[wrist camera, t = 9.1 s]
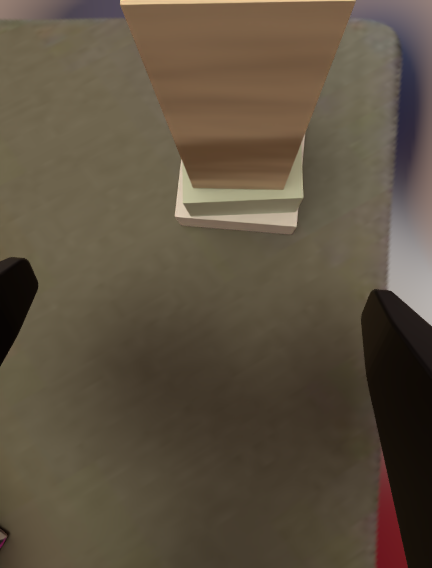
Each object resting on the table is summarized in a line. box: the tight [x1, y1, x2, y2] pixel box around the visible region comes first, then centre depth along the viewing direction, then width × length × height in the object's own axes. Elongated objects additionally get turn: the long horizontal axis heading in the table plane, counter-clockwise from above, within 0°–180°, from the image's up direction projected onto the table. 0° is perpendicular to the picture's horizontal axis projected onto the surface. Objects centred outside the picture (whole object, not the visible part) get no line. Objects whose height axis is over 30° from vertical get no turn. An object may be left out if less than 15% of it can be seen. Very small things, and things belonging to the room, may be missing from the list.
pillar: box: [120, 0, 356, 190], centre depth 12 cm, size 4×4×10 cm
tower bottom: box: [175, 135, 305, 235], centre depth 21 cm, size 7×7×2 cm
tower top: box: [182, 145, 303, 217], centre depth 18 cm, size 6×6×2 cm
